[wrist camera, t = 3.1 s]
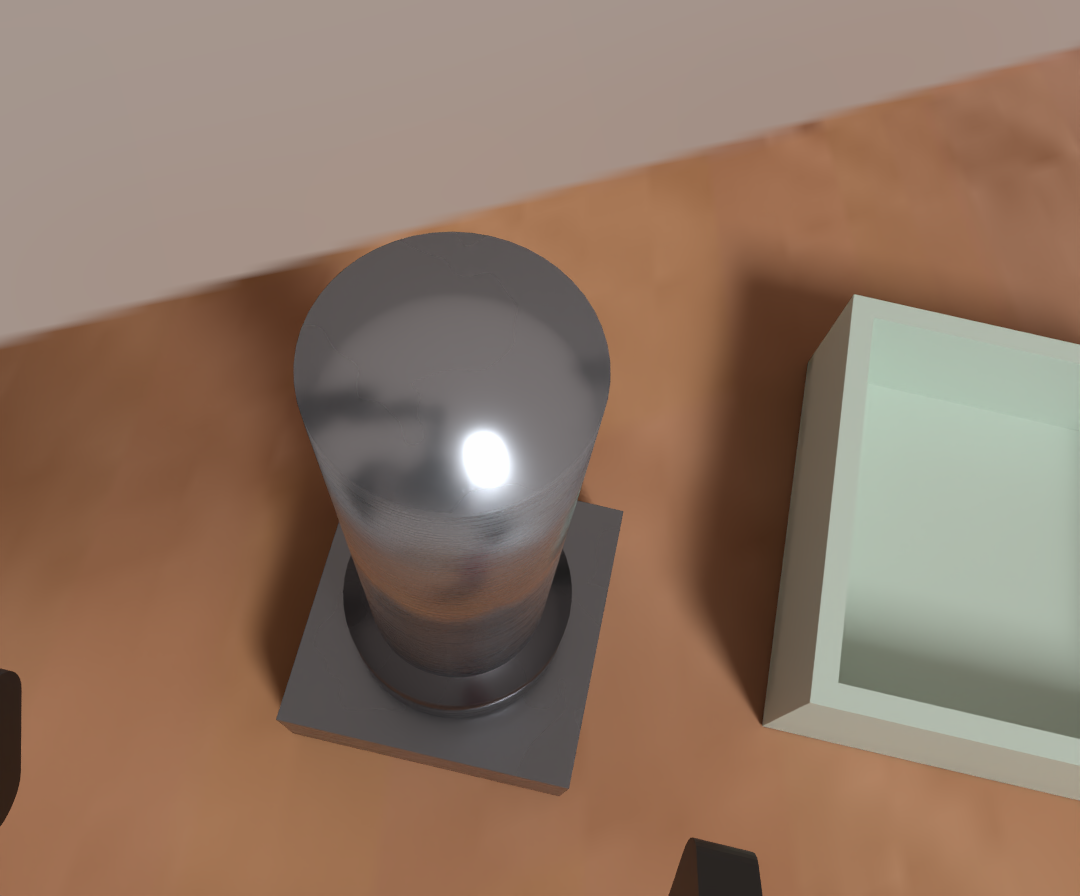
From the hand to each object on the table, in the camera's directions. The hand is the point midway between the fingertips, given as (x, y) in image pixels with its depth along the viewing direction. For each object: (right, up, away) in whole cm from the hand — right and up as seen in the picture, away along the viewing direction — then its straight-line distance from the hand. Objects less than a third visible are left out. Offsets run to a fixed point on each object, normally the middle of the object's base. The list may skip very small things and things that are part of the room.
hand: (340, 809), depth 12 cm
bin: (+15, +1, +17) cm, 23 cm away
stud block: (0, -1, +15) cm, 15 cm away
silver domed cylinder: (0, 0, +13) cm, 13 cm away
